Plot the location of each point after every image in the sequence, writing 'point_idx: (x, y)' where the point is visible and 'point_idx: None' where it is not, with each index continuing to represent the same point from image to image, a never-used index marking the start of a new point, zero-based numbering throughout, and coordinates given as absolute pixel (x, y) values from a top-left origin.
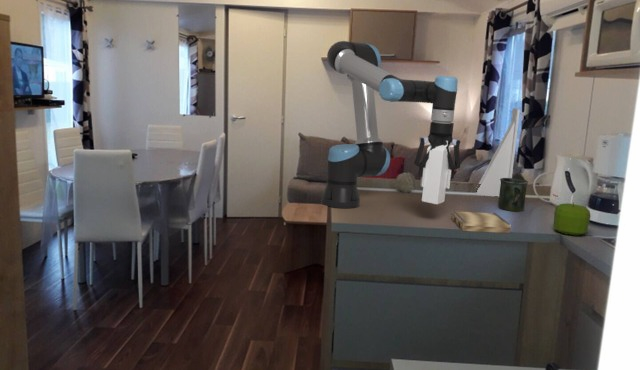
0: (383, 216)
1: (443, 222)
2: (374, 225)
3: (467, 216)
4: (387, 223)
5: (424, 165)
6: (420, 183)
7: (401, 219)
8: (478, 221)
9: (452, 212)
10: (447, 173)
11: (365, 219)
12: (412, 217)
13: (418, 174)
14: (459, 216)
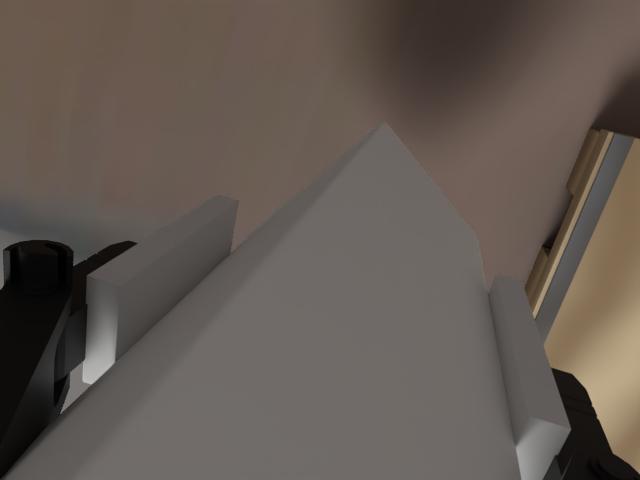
0: (127, 30)
1: (473, 206)
2: (49, 232)
3: (628, 304)
4: (118, 200)
5: (60, 410)
6: (207, 203)
7: (219, 114)
8: (612, 427)
9: (598, 154)
10: (504, 399)
11: (18, 106)
12: (312, 60)
13: (109, 248)
14: (547, 312)
